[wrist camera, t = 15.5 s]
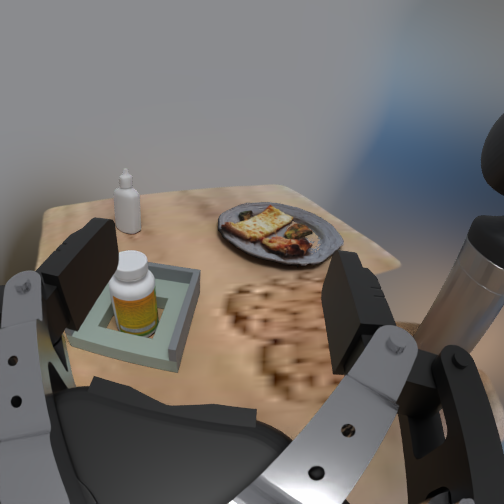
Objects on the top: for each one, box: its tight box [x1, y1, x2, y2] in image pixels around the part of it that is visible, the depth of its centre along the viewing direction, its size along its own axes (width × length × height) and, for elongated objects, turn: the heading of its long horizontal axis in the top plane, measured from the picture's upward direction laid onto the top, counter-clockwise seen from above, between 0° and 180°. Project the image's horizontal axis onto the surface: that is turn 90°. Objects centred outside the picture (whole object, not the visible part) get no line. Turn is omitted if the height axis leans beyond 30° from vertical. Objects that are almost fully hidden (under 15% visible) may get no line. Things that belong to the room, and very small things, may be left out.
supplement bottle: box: [109, 250, 158, 338], centre depth 32 cm, size 5×5×10 cm
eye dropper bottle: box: [114, 168, 141, 234], centre depth 50 cm, size 4×6×12 cm
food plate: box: [218, 202, 344, 266], centre depth 58 cm, size 25×23×4 cm
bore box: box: [65, 262, 200, 373], centre depth 34 cm, size 14×14×4 cm
